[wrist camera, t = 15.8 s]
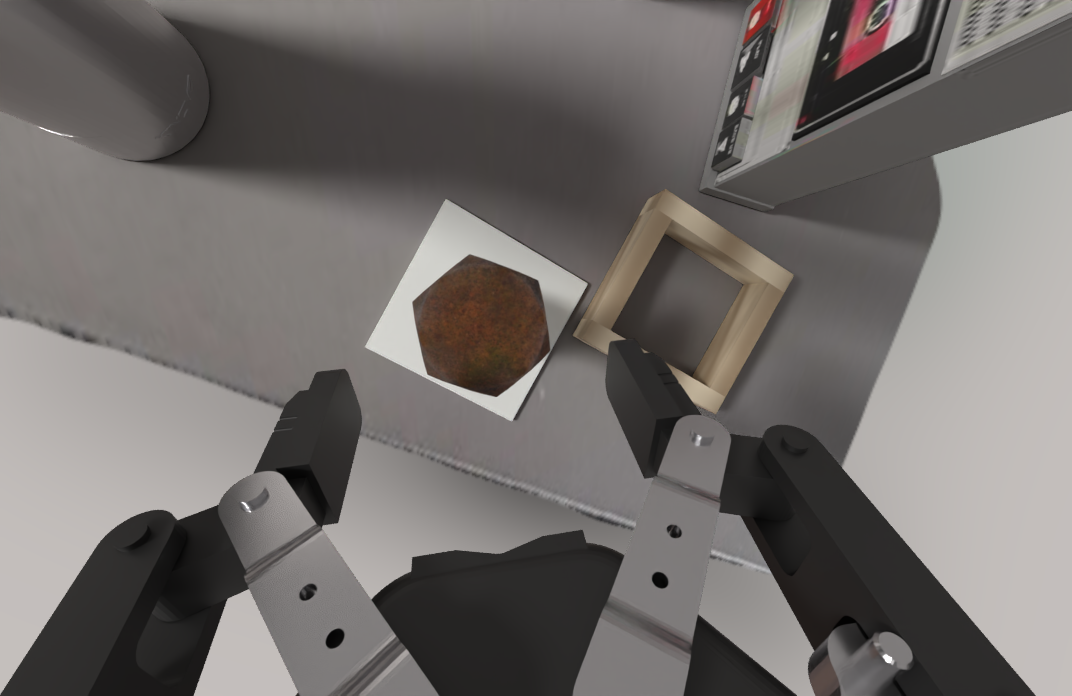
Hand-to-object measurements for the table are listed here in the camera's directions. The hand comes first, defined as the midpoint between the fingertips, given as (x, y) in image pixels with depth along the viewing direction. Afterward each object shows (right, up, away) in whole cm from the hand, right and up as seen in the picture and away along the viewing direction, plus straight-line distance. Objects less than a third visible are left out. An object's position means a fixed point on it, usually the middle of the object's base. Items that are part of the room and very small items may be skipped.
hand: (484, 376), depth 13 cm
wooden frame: (+13, +4, +21) cm, 25 cm away
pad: (-3, +3, +18) cm, 19 cm away
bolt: (-3, +3, +18) cm, 19 cm away
